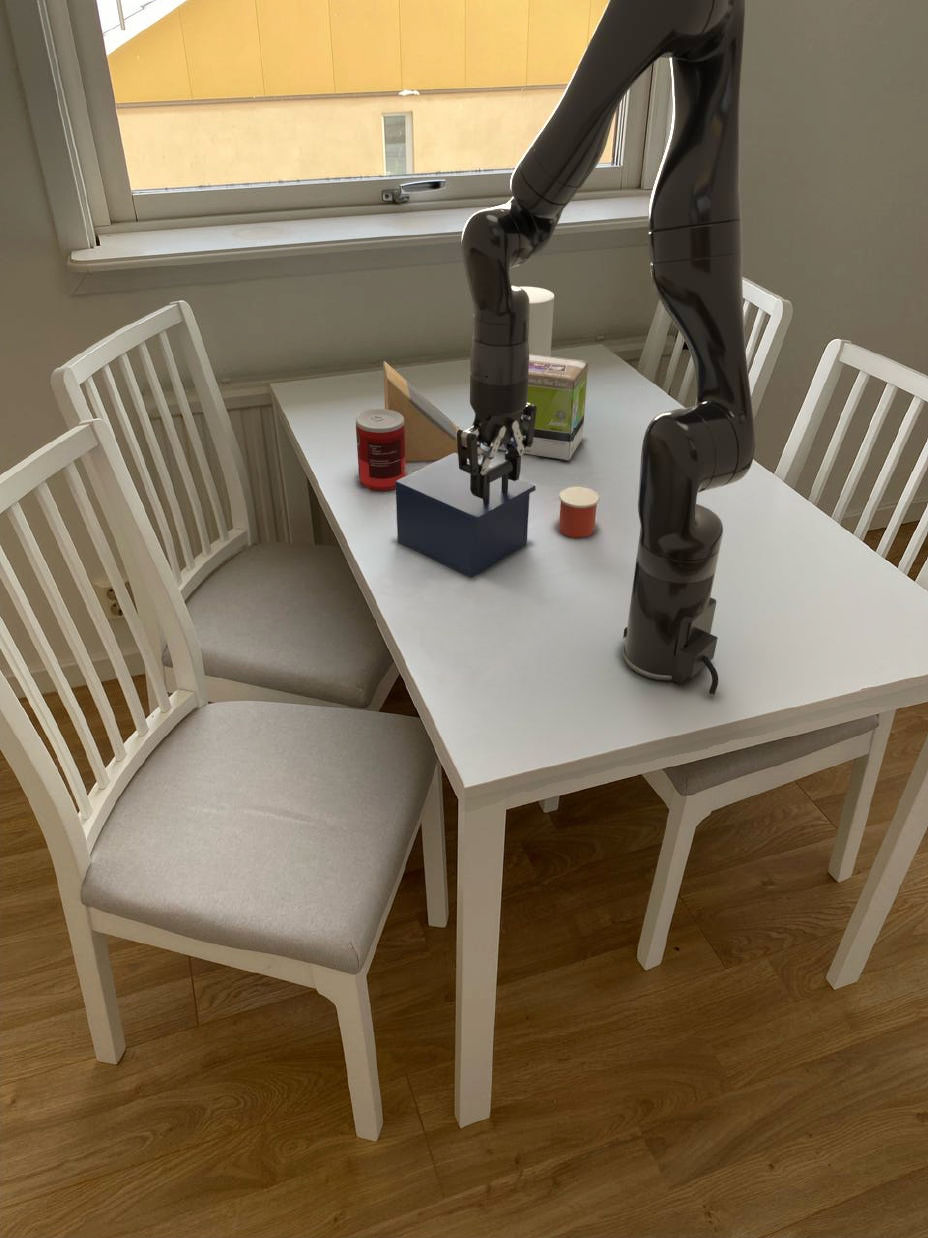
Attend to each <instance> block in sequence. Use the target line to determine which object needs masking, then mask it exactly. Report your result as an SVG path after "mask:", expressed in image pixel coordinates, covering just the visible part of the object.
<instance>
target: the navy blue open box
mask: <svg viewBox="0 0 928 1238" xmlns="http://www.w3.org/2000/svg"><path fill="white" fill-rule="evenodd" d="M530 494H531V493H530ZM530 494H528V495H526V496H524V497H523V498H521V499H519V500H517V501H515V502H514V503H512V504H510V505H508V506H507V507H505V508H503V509H501V510H499V511H498V512H496V513H494V514H492V515H491V516H489V517H487V518H485V519H483V520H482V521H480V522H478V523H477V522H475V521H473V520H470V519H468V518H466V517H464V516H461V515H459V514H457V513H455V512H453V511H450V510H448V509H446V508H444V507H441V506H439V505H437V504H435V503H432V502H430V501H428V500H426V499H424V498H421V497H419V496H417V495H415V494H412V493H410V492H408V491H406V490H404V489H401V488H399V487H397V486H396V489H395V506H396V534H397V536H396V537H397V543H399V544H400V545H403V546H405V547H407V548H408V549H411V550H413V551H415V552H417V553H419V554H421V555H424V556H425V557H427V558H429V559H431V560H433V561H435V562H437V563H439V564H442V565H444V566H446V567H447V568H449V569H452V570H453V571H455V572H458V573H460V574H462V575H463V576H466V577H467V578H470V579H472V578H474V577H476V576H477V575H479V574H480V573H482V572H484V571H485V570H487V569H488V568H491V567H492V566H493V565H495V564H497V563H498V562H500V561H501V560H504V559H505V558H506V557H508V556H510V555H511V554H513V553H514V552H517V551H518V550H520V549H521V548H522V547H524V546H526V545H527V544H528V533H529V531H528V530H529V512H530Z"/></svg>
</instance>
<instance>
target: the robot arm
mask: <svg viewBox="0 0 928 1238" xmlns="http://www.w3.org/2000/svg"><path fill="white" fill-rule="evenodd" d="M746 5H747V0H609V1H608V3H607V5H606V7H605V8H604V11H603V13H602V16H601V18H600V19H599V21H598V24H597V26H596V28H595V30H594V32H593V34H592V36H591V38H590V39H589V43H588V44H587V47H586V49H585V51H584V52H583V55H582V56H581V59H580V61H579V63H578V65H577V66H576V69H575V71H574V73H573V75H572V78H571V79H570V82H569V83H568V85H567V87H566V89H565V90H564V93H563V95H562V97H561V98H560V100H559V102H558V104H557V105H556V107H555V109H554V110H553V112H552V113H551V115H550V117H549V118H548V120H547V121H546V122H545V124H544V126H543V127H542V128H541V130H540V131H539V133H538V134H537V135H536V136H535V138H534V140H533V141H532V143H531V145H530V146H529V147H528V149H527V150H526V152H525V153H524V154H523V156H522V157H521V159H519V162H518V163H517V165H516V166H515V169H514V170H513V173H512V175H511V178H510V182H509V184H510V192H511V196H512V197H511V199H510V200H509V201H508V202H507V203H505V204H504V203H503V204H501V205H497V206H494V207H490V208H485V209H481V210H478V211H477V212H475V213H473V214H472V215H471V216H470V217H469V218H468V220H467V221H466V223H465V225H464V228H463V230H462V235H461V241H460V253H461V260H462V263H463V269H464V272H465V277H466V281H467V285H468V290H469V293H470V297H471V301H472V305H473V311H472V341H471V346H470V347H471V348H470V358H469V359H470V361H469V362H470V363H469V364H470V365H469V368H470V369H469V373H470V374H469V404H470V406H471V408H472V409H473V412H474V419H473V422H472V426H471V427H470V428H468V429H466V430H465V429H462V428H460V429H459V430H458V432H457V447H458V462H459V469H460V470H463V471H465V472H467V473H470V483H471V484H470V491H471V493H472V494H473V495H474V496H476V497H479V498H481V499H482V498H484V497H486V496H487V473H486V472H487V470H488V467H490V464H491V461H492V460H494V459H495V458H496V456H497V452H498V450H499V449H498V448H499V447H500V446H501V445H503V444H504V446H505V448H506V450H507V451H506V450H505V451H506V452H505V453H504V460H509V461H510V462H511V463H512V466H513V469H512V471H511V472H509V476H508V479H510V480H512V481H516V480H518V479H520V474H521V466H522V456H523V455H524V454H525V453H524V451H525V448H526V447H531V446H532V444H533V437H534V428H535V420H536V411H537V407H536V406H535V405H532V404H530V403H527V396H528V376H529V343H528V336H529V316H530V303H529V297H528V294H527V293H526V292H525V290H523V289H522V288H520V287H521V286H517V285H514V284H512V283H511V277H510V269H512V268H516V267H519V266H522V265H524V264H527V263H529V262H531V261H532V260H533V259H535V258H537V256H538V255H539V254H540V253H541V252H542V251H543V250H544V249H545V248H546V246H547V245H548V244H549V242H550V240H551V238H552V236H553V234H554V233H555V230H556V229H557V226H558V223H560V219H561V217H562V214H563V212H564V209H565V208H566V207H567V206H568V205H569V203H570V202H571V201H572V200H573V198H574V197H575V196H576V195H577V193H579V191H580V190H581V188H582V187H583V185H585V183H586V182H587V180H588V179H589V177H590V176H591V175H592V174H593V172H594V171H595V169H596V167H597V166H598V164H599V163H600V160H601V159H602V157H603V154H604V151H605V150H606V146H607V143H608V140H609V135H610V132H611V128H612V124H613V120H614V117H615V114H616V113H617V110H618V108H619V106H620V104H621V102H622V101H623V99H624V97H625V96H626V94H627V93H628V91H629V90H630V89H631V87H632V86H633V85H634V84H635V82H637V80H638V79H639V78H640V77H641V76H642V75H643V74H644V73H645V72H646V71H647V70H648V69H649V68H650V67H651V66H652V65H653V64H654V63H655V62H656V61H657V60H659V59H660V58H661V59H669V63H670V71H671V83H672V84H671V85H672V119H671V129H670V133H669V137H668V141H667V145H666V148H665V152H664V154H663V157H662V160H661V163H660V166H659V169H658V172H657V174H656V177H655V181H654V184H653V188H652V190H651V195H650V199H649V203H648V210H647V231H648V232H647V237H648V256H649V257H648V259H649V271H650V278H651V283H652V286H653V289H654V291H655V293H656V296H657V297H658V299H659V301H660V303H661V305H662V307H663V308H664V310H665V312H666V314H668V316H669V318H670V319H671V321H672V322H673V324H674V326H675V327H676V329H677V330H678V332H679V333H680V336H681V337H682V338H683V341H684V342H685V344H686V346H687V348H688V350H689V353H690V356H691V359H692V360H691V361H692V366H693V370H694V377H695V387H696V404H695V405H691V406H685V407H681V408H676V409H673V410H668V411H665V412H662V413H659V414H657V415H656V416H654V417H653V418H652V419H651V421H650V422H649V424H648V425H647V428H646V429H645V432H644V436H643V439H642V440H643V441H642V445H641V453H640V465H639V480H638V481H639V483H638V494H637V512H638V518H639V524H640V525H639V526H640V529H639V537H638V538H639V539H638V545H637V552H636V559H635V565H634V566H635V567H634V574H633V579H632V580H633V581H632V588H631V595H630V596H631V597H630V604H629V610H628V619H627V625H626V627H625V628H623V635H622V636H623V637H622V640H624V645H623V651H622V657H623V659H624V660H623V661H624V662H625V663H626V665H627V666H628V667H629V668H630V669H631V670H632V671H634V672H635V673H637V674H639V675H640V676H643V677H645V678H647V679H648V678H649V679H652V680H656V681H665V682H668V681H670V682H673V683H675V684H678V685H681V684H682V683H683V682H685V681H686V680H687V679H688V678H689V679H692V678H693V677H694V676H696V675H697V674H698V673H699V672H700V671H701V670H702V669H703V668H704V667H705V666H706V668H707V669H708V671H709V673H710V675H711V685H710V686H709V691H708V693H709V694H710V695H715V694H716V691H717V690H718V685H719V674H718V671H717V669H716V667H715V666H714V664H713V663H712V660H713V659H715V658H714V657H715V653H716V649H717V648H716V647H717V643H718V638H719V637H718V636H716V635H713V634H712V633H711V632H712V629H713V628H712V627H713V622H714V617H715V612H716V607H717V600H716V598H714V597H712V591H713V587H714V581H715V577H716V572H717V566H718V561H719V555H720V550H721V546H722V541H723V536H724V524H723V522H722V520H721V518H720V517H719V515H717V514H716V513H715V512H713V511H712V510H711V509H710V508H707V507H705V506H704V505H701V504H699V503H697V499H698V493H702V492H706V491H709V490H713V489H717V488H721V487H724V486H728V485H731V484H734V483H736V482H738V481H740V480H742V479H743V478H745V476H746V475H747V474H748V472H749V471H750V469H751V467H752V465H753V462H754V457H755V450H756V428H755V418H754V417H755V416H754V409H753V400H752V394H751V393H752V392H751V385H750V377H749V376H750V375H749V369H748V359H747V358H748V357H747V351H746V348H747V347H746V335H745V316H744V315H745V313H744V293H743V292H744V290H743V260H744V259H743V257H744V256H743V255H744V252H743V251H744V247H743V244H744V243H743V241H744V240H743V219H742V218H743V212H742V210H743V209H742V197H741V133H740V132H741V131H740V129H741V127H740V105H741V104H740V101H741V84H742V83H741V82H742V81H741V80H742V69H743V55H744V42H745V28H746V11H747V6H746ZM523 429H525V430H526V437H525V436H522V433H523ZM481 444H482V445H483V446H485V447H487V448H488V449H487V450H486V449H484V448H482V446H481ZM480 456H482V460H481V462H479V459H480ZM467 458H468V459H469V462H467ZM478 462H479V463H481V464H479V463H478Z"/></svg>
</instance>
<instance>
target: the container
mask: <svg viewBox="0 0 928 1238" xmlns="http://www.w3.org/2000/svg"><path fill="white" fill-rule="evenodd" d="M519 287H520V288H522V289H523V290H525V292H526V293H527V294H528V297H529V303H530V316H529V336H528V343H529V354H533V355H542V356H550V357H552V355H551V354H552V342H553V341H552V340H553V325H554V324H553V323H554V308H555V307H554V306H555V294H554V292H552V291H551V290H548V289H545V288H542V287H536V286H519Z"/></svg>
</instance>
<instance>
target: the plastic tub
mask: <svg viewBox="0 0 928 1238" xmlns="http://www.w3.org/2000/svg"><path fill="white" fill-rule="evenodd" d="M559 500H560V506H559V518H558V530H559V532H561V534H563V535H565V536H567V537H569V538H570V537H571V538H587V537H589V536H591V535H593V533H594V532H595V527H596V517H597V506H598V503H599V501H600V495H599V493H598V492H596V490H594V489H591V488H588V487H585V486H570V487H567V488H564V489H563V490H561V491H560V493H559Z"/></svg>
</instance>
